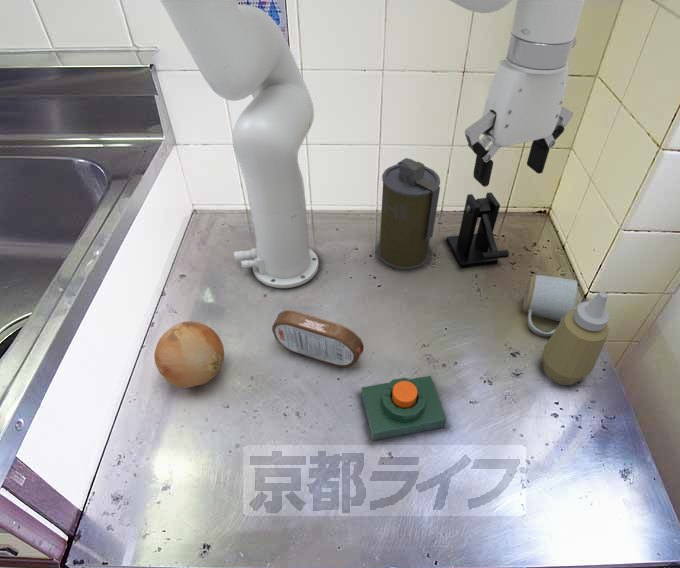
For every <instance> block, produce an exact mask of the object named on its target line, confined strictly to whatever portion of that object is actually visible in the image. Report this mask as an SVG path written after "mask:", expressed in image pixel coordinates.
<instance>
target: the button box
mask: <svg viewBox="0 0 680 568" xmlns="http://www.w3.org/2000/svg"><path fill="white" fill-rule="evenodd" d="M400 381H408V382H411V383H413V384H414V385H415V386H416V388H417V398H416V402H415V404H414V405H413V406H411V407H409V408H401V407H398V406H397V405H395V404H394V402H393V400H392V392H393V387H394V385H395V384H396V383H398V382H400ZM361 398H362V403H363V407H364V411H365V414H366V419H367V422H368V427H369V431H370V435H371V436H370V437H371V440H372V441H378V440H383V439H388V438H394V437H400V436H404V435H410V434H416V433H419V432H425V431H430V430H436V429H441V428H445V426H446V422H447V417H446V415H445V411H444V409H443V406H442V404H441V401H440V398H439V396H438V393H437V389H436V386H435V385H434V382H433V379H432V376H431V375H426V376H420V377H415V378H407V377H399V378H394V379H391V381H389V382H385V383H379V384H374V385H373V384H372V385H367V386H362V387H361Z"/></svg>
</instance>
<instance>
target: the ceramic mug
mask: <svg viewBox="0 0 680 568" xmlns="http://www.w3.org/2000/svg"><path fill="white" fill-rule="evenodd" d="M578 287H579V284H578V281H577V280H576V279H570V278H563V277H556V276H550V275H543V274H534V275H531V276H530V277H529V279H528V283H527V285H526V287H525V288H526V289H525V293H524V298H523V303H522V308H523V311H524V312H526V313H528V314H527V324H528V328H529V329H530V330H531V331H532V332H533V333H534V334H536V335H538V336H541V337H551V336H552V334H553V333H554V332H555V330H556V329H557V327H556V328H555V329H553V330H551V331H548V332H545V331H542V330H540V329H539V328H538V327H536V326H535V325H534V324H533V321H532V315H533V316H535V317H536V316H537V317H542V318H545V319H547V320H548V319H549V320H552V321H556V322H559V324H560V323H561V321H562V320H563V318H564V317H565V315H566V314H567V313H568V312H569V311H572V310H575V305H576V303H577V302H576V301H577V296H578V291H579V289H578Z"/></svg>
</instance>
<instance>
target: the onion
mask: <svg viewBox="0 0 680 568" xmlns="http://www.w3.org/2000/svg"><path fill="white" fill-rule="evenodd" d="M153 356H154V364H155V366H156V368H157V370H158V372H159V374H160V375H161V376H162V377H163V379H165V380H166V381H167V382H168V383H169V384H170V385H173V386H175V387H178V388H192V387H197V386H201V385H205V384H206V383H208V382H209V381H211V380H212V379H214V378H215V377H216V376H217V375H218V374H219V372H220V370H221V369H222V366H223V364H224V361H225V348H224V344H223V341H222V340H221V338H220V336H219V334H218V333H217V332H216V331H214V329H213V328H211V327H210V326H209V325H207V324H204V323H203V322H197V321H191V320H190V321H182V322H180V323H177V324H175V325H173V326H171V327H170V328H169V329H168V330H166V332H164V333H163V334H162V336H161V337H160V338H159V339H158V342H157V344H156V347H155V350H154V354H153Z"/></svg>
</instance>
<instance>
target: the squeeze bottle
mask: <svg viewBox="0 0 680 568" xmlns="http://www.w3.org/2000/svg"><path fill="white" fill-rule="evenodd" d="M608 297H609V295H608V293H607V292H606V291H599V292H598V293H597V294H596V295H595V296H594V297H593V299H591V300H590V301H583V302H580V303H579V304H577V306H576V308H574V309H573V310H572V311H569V312H568V313H567V314H566V315H565V317H564V318H563V320H562V321H561V323H560V322H559V324H558V325H557V327H556V328H557V329H556V328H555V329H556V330H555V329H554V330H555V332H554V333H553V334H552V336H549V339H548V340H547V342H546V343H545V345H544V346H543V351H542V368H543V372H544V374H545V375H546V376H547V377H548V379H549V380H551V381H552V382H554V383H556V384H559V385H561V386H570V385H573V384H576V383H577V382H579V381H581V380H583V379H584V378H586V377H588V376H589V375H590V374H591V373H592V371H594V368H595V366H596V363H597V361H598V359H599V356H600V354H601V352H602V350H603V348H604V345H605V344H606V341H607V338H608V336H609V332H610V328H609V325H608V322H609V321H610V313H609V311H608V310H607V309H606V305H607V300H608Z"/></svg>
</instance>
